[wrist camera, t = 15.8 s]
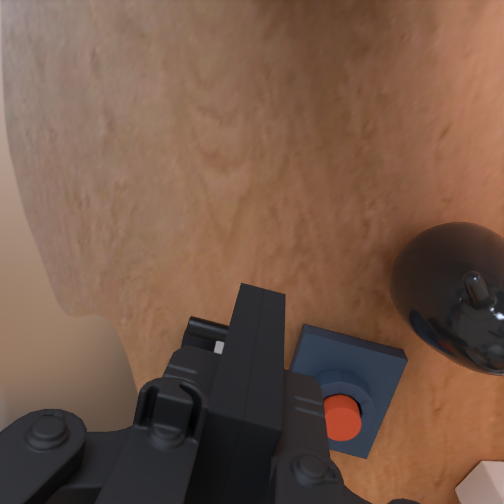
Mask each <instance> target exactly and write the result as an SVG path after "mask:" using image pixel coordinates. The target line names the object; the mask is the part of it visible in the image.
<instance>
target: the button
mask: <svg viewBox="0 0 504 504" xmlns="http://www.w3.org/2000/svg"><path fill="white" fill-rule="evenodd" d="M324 408H325V418H326V426H327V435H328V437H329V438H331V439H333V440H336V441H347V440H350V439H352V438H354V437H355V436H356V435H357V434H358V433H359V432H360V429H361V425H362V423H361V418H360V413H359V409H358V406H357V403H356V402H355V401H354V400H353V399H352V398H351V397H349V396H347V395H343V394H335V395H331V396H329V397H327V398H326V399H325V400H324Z"/></svg>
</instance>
